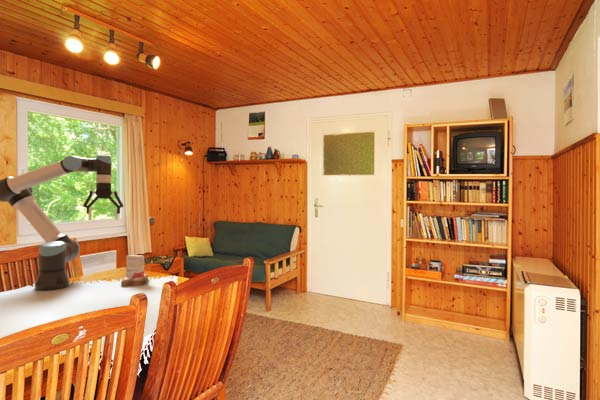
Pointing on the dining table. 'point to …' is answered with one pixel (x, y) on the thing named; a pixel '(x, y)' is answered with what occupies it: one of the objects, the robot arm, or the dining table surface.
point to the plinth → (134, 281)
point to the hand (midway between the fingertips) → (103, 219)
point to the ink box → (134, 266)
